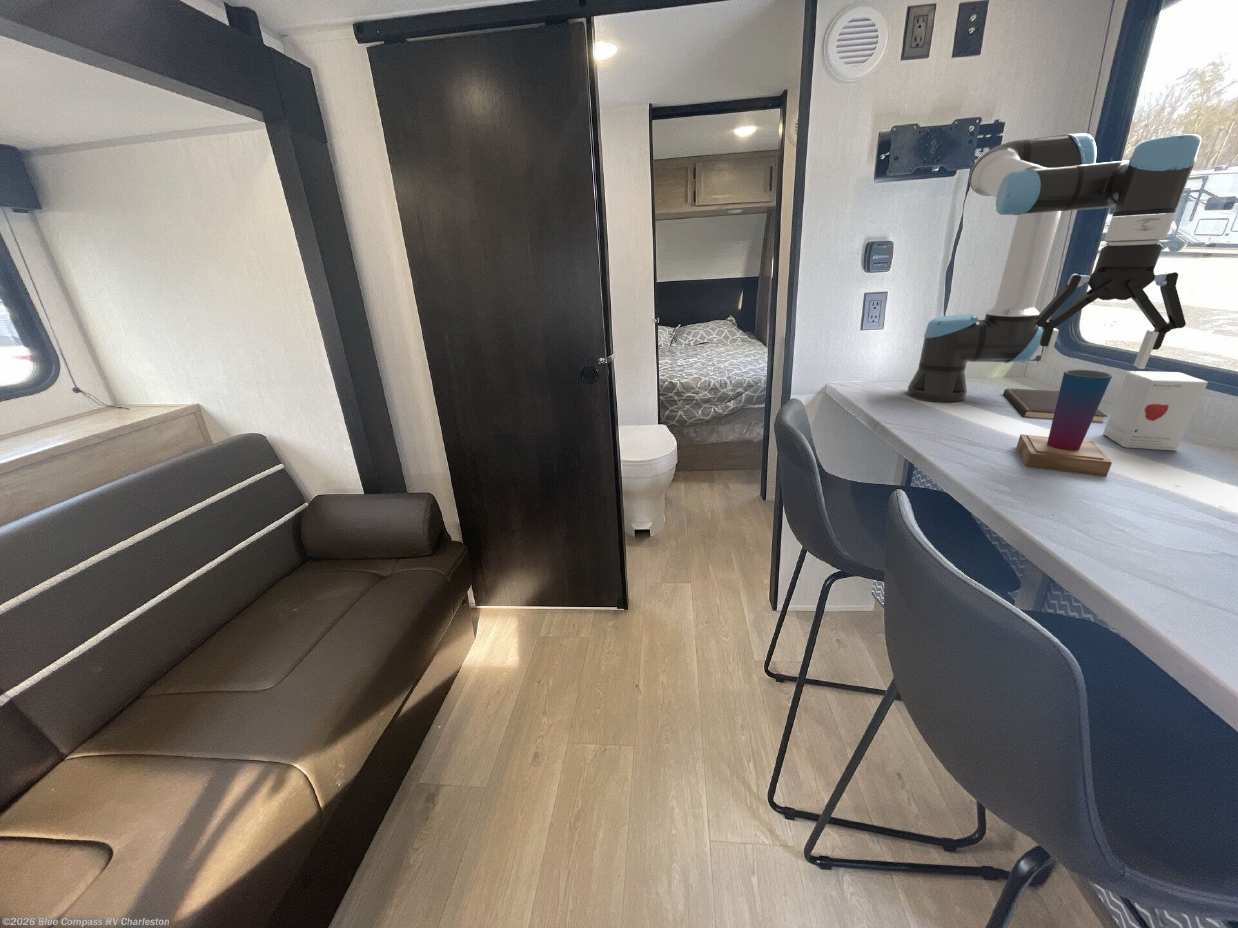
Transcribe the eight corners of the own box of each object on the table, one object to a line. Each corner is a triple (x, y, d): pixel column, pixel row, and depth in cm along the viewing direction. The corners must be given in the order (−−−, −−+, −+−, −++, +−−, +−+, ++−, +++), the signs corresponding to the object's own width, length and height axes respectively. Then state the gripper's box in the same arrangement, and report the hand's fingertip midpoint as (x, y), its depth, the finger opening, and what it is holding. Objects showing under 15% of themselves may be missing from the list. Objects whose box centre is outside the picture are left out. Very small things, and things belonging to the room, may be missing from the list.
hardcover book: (1071, 399, 136) (1074, 391, 135) (1104, 424, 117) (1107, 415, 116) (1002, 395, 143) (1004, 388, 142) (1022, 418, 124) (1025, 410, 123)
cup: (1094, 452, 94) (1122, 377, 88) (1054, 451, 95) (1078, 377, 89) (1071, 440, 100) (1096, 369, 94) (1034, 439, 101) (1056, 369, 95)
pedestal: (1016, 446, 106) (1020, 433, 105) (1087, 454, 101) (1093, 439, 99) (1026, 466, 97) (1031, 452, 95) (1106, 476, 91) (1112, 460, 90)
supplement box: (1123, 448, 103) (1150, 380, 97) (1101, 434, 110) (1125, 370, 104) (1179, 451, 100) (1210, 381, 94) (1152, 437, 107) (1180, 371, 101)
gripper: (1044, 248, 85) (1011, 365, 94) (1252, 238, 74) (1192, 373, 82) (1036, 247, 91) (1005, 357, 100) (1227, 238, 79) (1173, 364, 88)
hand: (1089, 365), depth 91 cm, fingers open, 13 cm apart
